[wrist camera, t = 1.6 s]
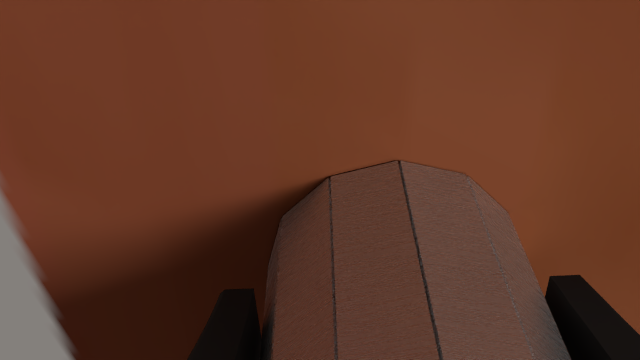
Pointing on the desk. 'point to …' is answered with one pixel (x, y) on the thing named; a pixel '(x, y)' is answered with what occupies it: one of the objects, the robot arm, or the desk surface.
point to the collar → (403, 274)
